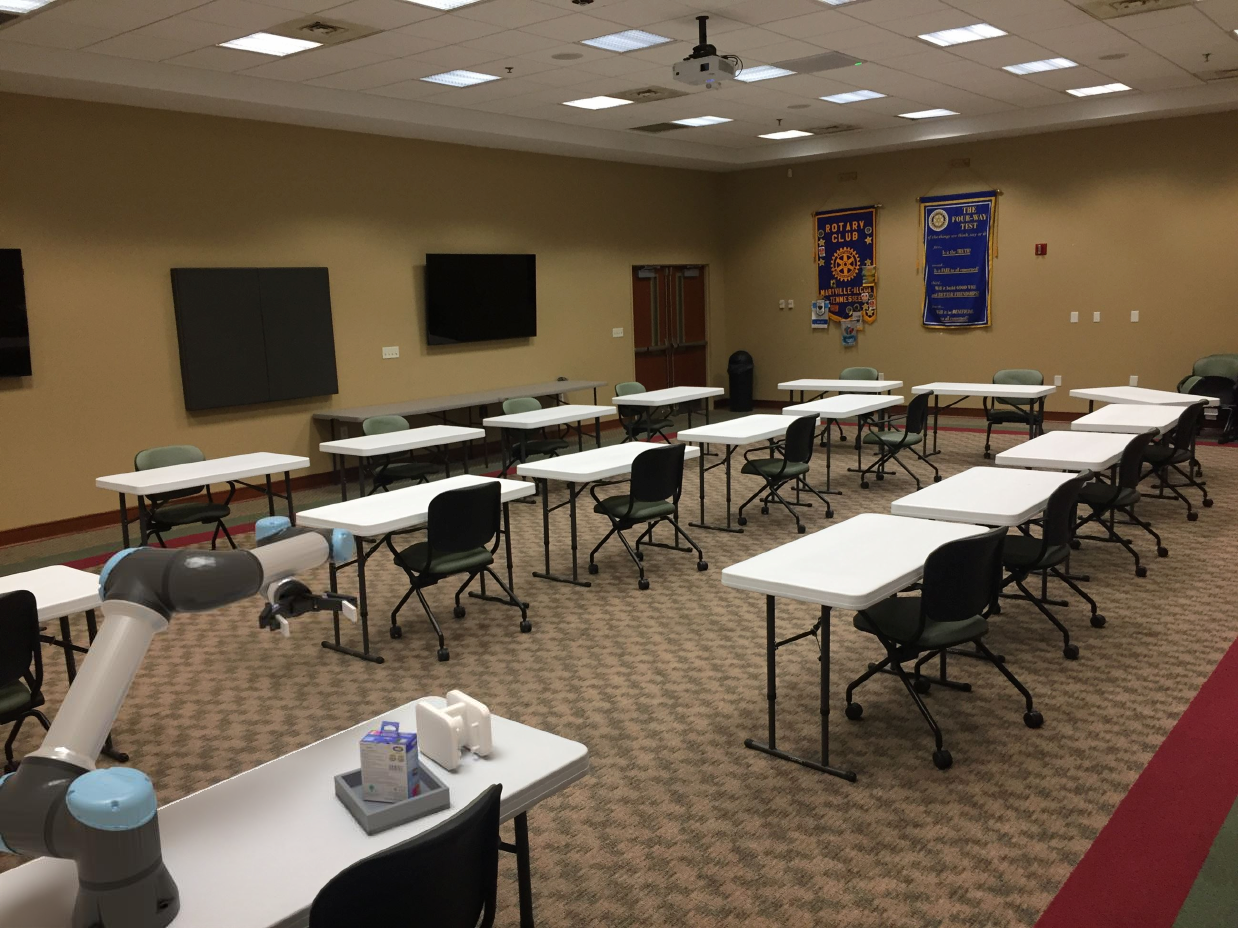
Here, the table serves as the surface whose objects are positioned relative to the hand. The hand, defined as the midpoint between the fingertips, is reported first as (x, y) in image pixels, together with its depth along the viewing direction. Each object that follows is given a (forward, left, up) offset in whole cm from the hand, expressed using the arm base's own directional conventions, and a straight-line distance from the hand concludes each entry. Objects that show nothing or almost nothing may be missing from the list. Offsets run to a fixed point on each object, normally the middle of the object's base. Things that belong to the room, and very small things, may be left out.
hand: (321, 622), depth 189 cm
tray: (+5, -19, -32) cm, 37 cm away
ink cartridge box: (+5, -19, -31) cm, 37 cm away
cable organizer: (+23, -9, -32) cm, 41 cm away
